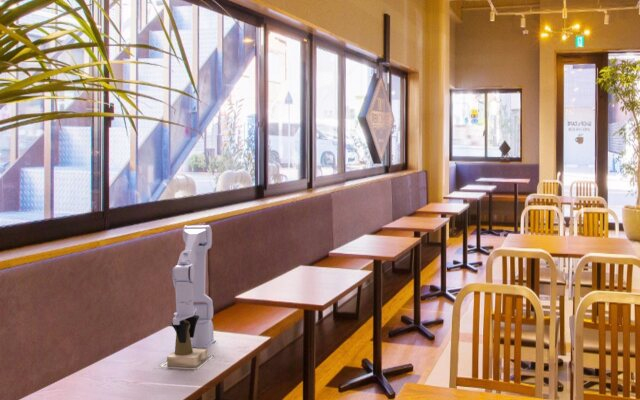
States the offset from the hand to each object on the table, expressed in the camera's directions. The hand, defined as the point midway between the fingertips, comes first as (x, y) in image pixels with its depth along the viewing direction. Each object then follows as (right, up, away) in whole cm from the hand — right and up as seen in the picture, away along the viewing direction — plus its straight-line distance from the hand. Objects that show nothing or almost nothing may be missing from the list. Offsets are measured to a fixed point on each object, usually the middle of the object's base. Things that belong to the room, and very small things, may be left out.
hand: (186, 339), depth 227 cm
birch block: (0, -8, +1) cm, 8 cm away
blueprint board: (-1, -8, +1) cm, 8 cm away
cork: (-1, -5, +1) cm, 5 cm away
